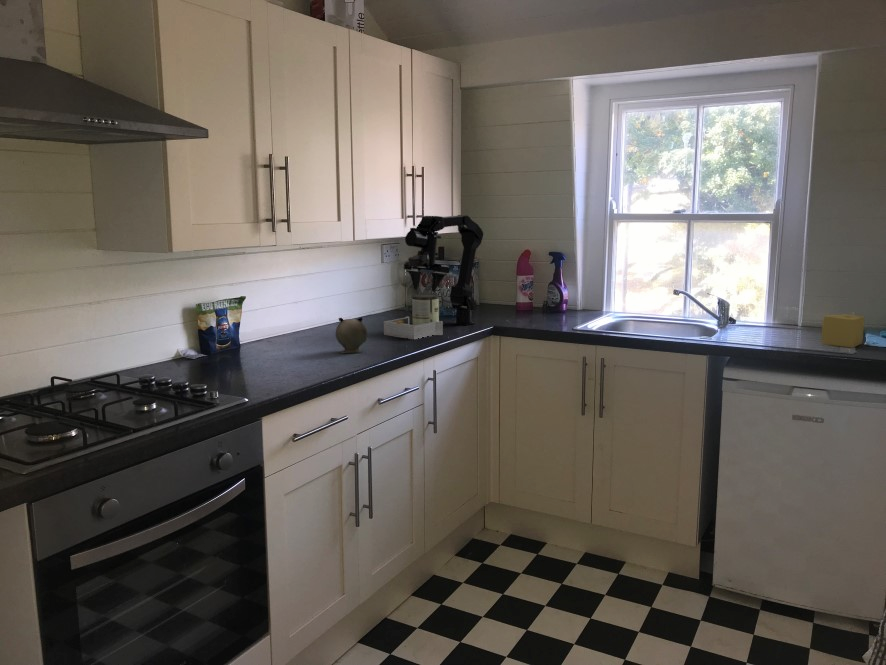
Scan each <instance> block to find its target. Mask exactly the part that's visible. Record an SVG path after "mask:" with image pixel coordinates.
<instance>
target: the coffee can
mask: <svg viewBox="0 0 886 665" xmlns="http://www.w3.org/2000/svg"><path fill="white" fill-rule="evenodd" d="M439 300H440V295H439V294H438V293H415V294H412V295H411V303H412V306H411V307H412V325H417V324H422V323H428V322H434V321H440V318H439V317H440V304H439V303H440V302H439Z"/></svg>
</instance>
